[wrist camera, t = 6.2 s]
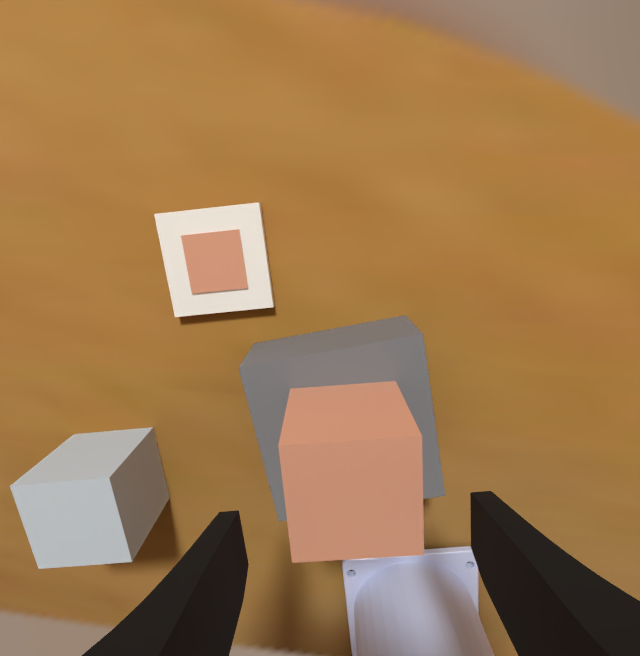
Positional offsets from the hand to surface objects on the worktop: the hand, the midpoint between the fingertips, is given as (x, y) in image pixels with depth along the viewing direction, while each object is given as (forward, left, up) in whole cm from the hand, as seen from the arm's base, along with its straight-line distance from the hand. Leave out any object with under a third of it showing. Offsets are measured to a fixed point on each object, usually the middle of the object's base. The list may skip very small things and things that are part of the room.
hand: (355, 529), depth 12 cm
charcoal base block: (0, 0, -10) cm, 10 cm away
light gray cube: (-3, +13, -9) cm, 16 cm away
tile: (+8, +6, -9) cm, 14 cm away
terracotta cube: (0, 0, -6) cm, 6 cm away
